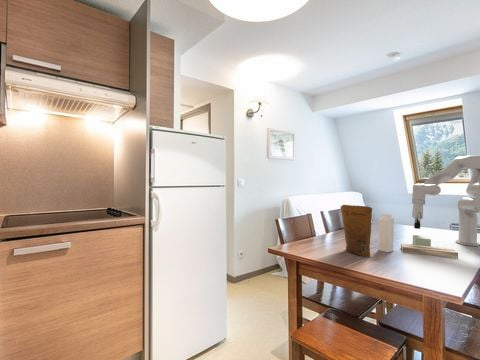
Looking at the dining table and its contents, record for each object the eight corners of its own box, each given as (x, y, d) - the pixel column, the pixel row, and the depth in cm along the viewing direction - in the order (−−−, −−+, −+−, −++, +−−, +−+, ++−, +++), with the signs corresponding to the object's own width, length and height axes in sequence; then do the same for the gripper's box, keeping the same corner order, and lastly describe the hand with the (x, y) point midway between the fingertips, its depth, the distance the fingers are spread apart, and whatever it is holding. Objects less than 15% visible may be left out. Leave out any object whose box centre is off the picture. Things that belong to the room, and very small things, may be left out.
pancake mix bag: (367, 259, 141) (368, 207, 141) (338, 250, 158) (339, 203, 157) (375, 257, 144) (376, 206, 144) (346, 249, 161) (347, 203, 161)
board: (400, 248, 165) (400, 243, 165) (452, 253, 154) (452, 248, 154) (402, 252, 156) (403, 247, 156) (457, 258, 145) (458, 252, 145)
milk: (388, 252, 154) (389, 215, 154) (378, 250, 159) (378, 214, 159) (393, 250, 158) (394, 214, 158) (382, 248, 163) (383, 213, 163)
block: (412, 243, 177) (412, 234, 177) (426, 245, 174) (426, 236, 174) (415, 247, 168) (415, 237, 168) (430, 248, 165) (430, 239, 165)
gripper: (410, 200, 189) (408, 226, 189) (414, 202, 176) (412, 229, 176) (422, 201, 186) (421, 227, 186) (427, 203, 172) (426, 231, 173)
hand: (417, 228), depth 181 cm, fingers closed
